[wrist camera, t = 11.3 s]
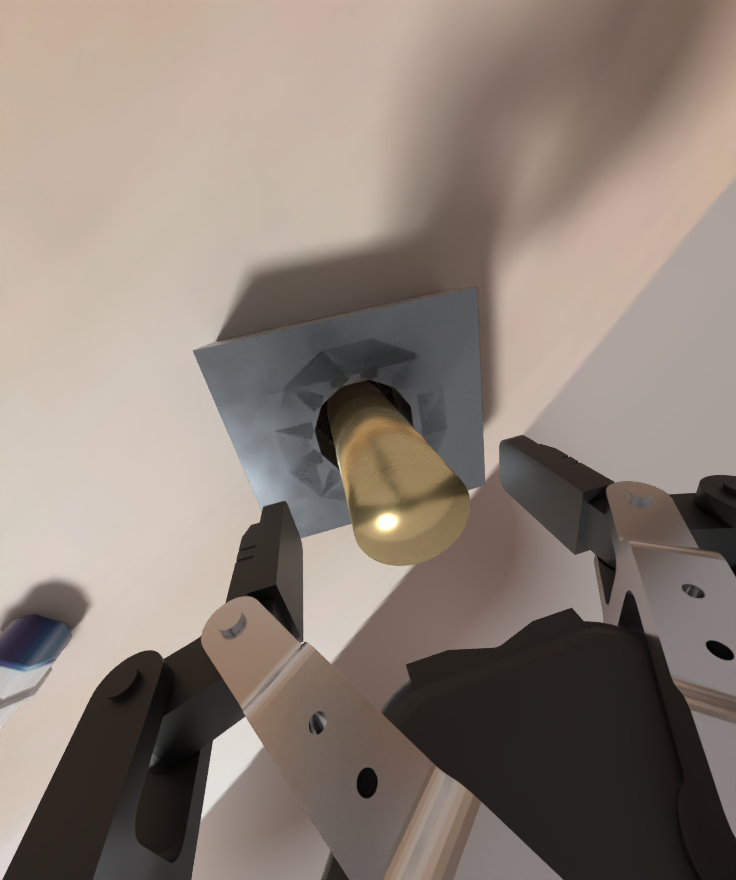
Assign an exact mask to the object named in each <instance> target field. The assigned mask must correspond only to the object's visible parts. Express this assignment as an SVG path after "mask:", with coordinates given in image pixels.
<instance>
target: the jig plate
mask: <svg viewBox="0 0 736 880" xmlns="http://www.w3.org/2000/svg"><path fill="white" fill-rule="evenodd" d="M193 352H194V355H195V357H196V359H197V362H198V364H199V366H200V369H201V371H202V373H203V376H204V378H205V380H206V383H207V385H208V387H209V390H210V392H211V394H212V397H213V399H214V401H215V404H216V406H217V408H218V411H219V413H220V415H221V418H222V420H223V422H224V425H225V427H226V429H227V432H228V434H229V436H230V439H231V441H232V443H233V446H234V448H235V450H236V453H237V455H238V457H239V460H240V462H241V464H242V467H243V469H244V471H245V474H246V476H247V478H248V481H249V483H250V485H251V488H252V490H253V492H254V495H255V497H256V499H257V502H258V504H259V506H260V509H261V511H262V509H263V507H264V506H267V505H271V504H274V503H278V502H281V501H286V502H287V504H288V506H289V509H290V511H291V514H292V517H293V519H294V522H295V524H296V527H297V529H298V532H299V535H300V538H304V537H307V536H310V535H314V534H317V533H321V532H324V531H328V530H331V529H335V528H338V527H342V526H345V525H349V524H352V522H351V517H350V513H349V509H348V504H347V500H346V495H345V491H344V486H343V482H342V477H341V473H340V468H339V464H338V459H337V455H336V451H335V446H334V443H333V442H332V441H331V440H330V439H329V438H327V437H326V436H325V435H324V434H323V433H322V432H321V431H320V430H319V429H318V427H317V419H318V416H319V412H320V409H321V405H322V404H324V403H325V402H326V401H327V400H328V399H329V398H330V397H331V396H332V395H333V394H334V393H335V392H336V391H337V390H338V389H339V388H340V387H342V386H345V385H349V384H353V383H357V382H361V381H365V380H372V381H376V382H379V383H382V384H385V385H389V386H390V387H391V388H392V391H393V397H394V403H395V408H396V409H397V410H398V411H399V412H400V413H401V414H402V415H403V417H404V418H405V419H406V420H407V421H408V422H409V423H410V424H411V425H412V426H413V428H414V429H415V430H416V431H417V432H418V433H419V434H420V435H421V436H422V437H423V439H424V440H425V441H426V442H427V443H428V444H429V445H430V446H431V447H432V448H433V450H434V451H435V452H436V453H437V454H438V455H439V456H440V457H441V458H442V459H443V461H444V462H445V463H446V464H447V465H448V466H449V467H450V468H451V469H452V470H453V471H454V473H455V474H456V475H457V476H458V477H459V478H460V479H461V480H462V482H463V483H464V484H465V486H466V488H467V490H470V489H474V488H477V487H481V486H484V485H485V466H484V441H483V416H482V391H481V367H480V342H479V317H478V292H477V287H473V288H464V289H456V290H447V291H441V292H437V293H432V294H428V295H423V296H419V297H414V298H410V299H405V300H401V301H396V302H392V303H387V304H383V305H378V306H374V307H369V308H365V309H360V310H356V311H352V312H347V313H343V314H338V315H334V316H329V317H325V318H320V319H316V320H311V321H307V322H302V323H298V324H293V325H289V326H284V327H280V328H275V329H271V330H266V331H262V332H257V333H253V334H248V335H244V336H239V337H235V338H230V339H226V340H221V341H217V342H213V343H211V344H208V345H206V346H203V347H201V348H198V349H196V350H193Z"/></svg>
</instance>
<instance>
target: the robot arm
mask: <svg viewBox="0 0 736 880" xmlns="http://www.w3.org/2000/svg"><path fill="white" fill-rule="evenodd" d="M499 464H500V481H501V484H502V486H503V488H504V489H505V491H506V492H507V493H508V494H509V495H511V496H512V497H513V498H514V499H515V500H516V501H517V502H518V503H519V504H520V505H521V506H522V507H523V508H525V509H526V510H527V511H528V512H529V513H530V514H531V515H532V516H533V517H534V518H536V520H538V521H539V522H540V523H541V524H542V525H543V526H544V527H545V528H546V529H547V530H549V531H550V532H551V533H552V534H553V535H554V536H555V537H556V538H557V539H558V540H559V541H561V543H563V544H564V545H565V546H566V547H567V548H568V549H569V550H570V551H571V552H572V553H573V554H575V555H576V554H579V553H582V552H585V551H588V550H591V551H593V552H594V553H595V557H594V566H595V571H596V577H597V583H598V589H599V595H600V600H601V606H602V612H603V623H601V622H588V621H585V622H584V621H583V620H582V619H581V618H580V617H579V615H578V614H577V613H576V612H575V611H574V610H573V609H572V608H570V609H567V610H564V611H561V612H558V613H555V614H552V615H549V616H546V617H544V618H541V619H538V620H535V621H532V622H531V623H530V624H528V625H527V626H526V627H524V628H523V629H522V630H521V631H519V632H518V633H517V634H515V635H514V636H513V637H511V638H510V639H509V640H507V641H506V642H505V643H504V644H502V645H501V646H499V647H496V648H481V649H460V650H447V651H444V652H441V653H439V654H436V655H432V656H430V657H427V658H424V659H421V660H418V661H415V662H412V663H409V664H406V667H407V671H408V675H409V679H410V680H408V681H407V682H406V683H404V684H403V685H402V686H401V687H400V688H399V689H398V690H397V691H395V692H394V693H393V694H392V696H391V697H390V698H389V700H388V701H387V702H386V703H385V705H384V706H383V708H382V710H381V711H379V710H378V709H377V708H376V707H375V706H374V705H373V704H371V702H369V701H368V700H367V699H366V698H365V697H364V696H363V695H362V694H361V693H360V692H359V691H358V690H357V689H356V688H355V687H354V686H353V685H352V684H351V683H350V682H349V681H348V680H347V679H346V678H345V677H344V676H343V675H342V674H341V673H340V672H339V671H338V670H336V669H335V668H334V667H333V666H332V665H331V664H330V663H329V662H328V661H327V660H326V659H325V658H324V657H323V656H322V655H321V654H320V653H319V652H318V651H317V650H316V649H315V648H314V647H313V646H311V645H310V644H309V643H307V642H304V643H303V644H301V642H303V549H302V543H301V538H300V535H299V532H298V529H297V527H296V524H295V522H294V519H293V517H292V514H291V511H290V509H289V506H288V504H287V502H286V501H281V502H278V503H274V504H271V505H267V506H264V507H263V509H262V514H261V520H260V523H257V524H254V525H251V526H250V527H249V529H248V530H247V531H246V533H245V534H244V536H243V537H242V540H241V544H240V548H239V552H238V555H237V559H236V561H237V563H235V567H234V571H233V575H232V579H231V583H230V587H229V591H228V595H227V599H226V603H225V604H224V605H222V606H221V607H220V608H219V609H218V610H216V611H215V612H214V614H213V615H212V616H211V617H210V618H209V620H208V621H207V623H206V625H205V627H204V629H203V632H202V636H201V637H199V638H198V639H196V640H195V641H193V642H192V643H190V644H188V645H187V646H185V647H183V648H181V649H180V650H178V651H176V652H175V653H173V654H171V655H170V656H168V657H166V658H165V659H163V657H162V656H161V655H160V654H159V653H158V652H156V651H152V650H148V651H143V652H139V653H137V654H135V655H133V656H131V657H129V658H127V659H126V660H124V661H123V662H121V663H120V664H119V665H118V666H116V667H115V668H114V669H113V670H112V671H111V672H110V673H109V674H108V675H107V676H106V677H105V678H104V679H103V680H102V682H101V683H100V684H99V685H98V687H97V688H96V690H95V691H94V693H93V695H92V697H91V698H90V700H89V702H88V704H87V707H86V709H85V711H84V713H83V715H82V717H81V719H80V721H79V723H78V725H77V727H76V729H75V731H74V733H73V735H72V737H71V740H70V742H69V744H68V746H67V748H66V750H65V752H64V754H63V756H62V758H61V760H60V762H59V764H58V766H57V768H56V770H55V772H54V775H53V777H52V779H51V781H50V783H49V785H48V787H47V789H46V791H45V793H44V795H43V797H42V799H41V801H40V803H39V805H38V808H37V810H36V812H35V814H34V816H33V818H32V820H31V822H30V824H29V826H28V828H27V830H26V832H25V834H24V836H23V838H22V840H21V843H20V845H19V847H18V849H17V851H16V853H15V855H14V857H13V859H12V861H11V863H10V865H9V867H8V869H7V871H6V873H5V876H4V878H3V880H191V878H192V871H193V865H194V858H195V852H196V845H197V839H198V833H199V826H200V820H201V814H202V807H203V801H204V794H205V788H206V781H207V775H208V769H209V762H210V756H211V749H212V743H213V740H214V739H215V738H217V737H218V736H219V735H221V734H222V733H223V732H225V731H226V730H227V729H229V728H230V727H231V726H233V725H234V724H236V723H237V722H238V721H240V720H241V719H242V718H244V717H245V716H246V718H247V720H248V721H249V723H250V724H251V726H252V728H253V729H254V731H255V732H256V734H257V735H258V737H259V739H260V740H261V742H262V743H263V745H264V746H265V748H266V749H267V751H268V753H269V754H270V756H271V757H272V759H273V761H274V762H275V764H276V765H277V767H278V768H279V770H280V771H281V773H282V775H283V776H284V778H285V779H286V781H287V782H288V784H289V786H290V787H291V789H292V790H293V792H294V794H295V795H296V797H297V798H298V800H299V802H300V803H301V805H302V806H303V808H304V809H305V811H306V813H307V814H308V816H309V817H310V819H311V820H312V822H313V824H314V825H315V827H316V828H317V830H318V831H319V833H320V835H321V836H322V838H323V839H324V841H325V842H326V844H327V846H328V847H329V849H330V850H331V851H330V854H329V857H328V860H327V863H326V866H325V869H324V872H323V875H322V878H321V880H736V476H728V475H714V476H708V477H705V478H703V479H701V481H700V483H699V486H698V489H697V493H687V494H670V495H669V494H667V493H666V492H664V491H663V490H661V489H659V488H657V487H655V486H652V485H649V484H645V483H640V482H633V481H622V482H616V483H615V482H614V481H612V480H610V479H608V478H607V477H605V476H603V475H601V474H599V473H598V472H596V471H594V470H593V469H591V468H589V467H587V466H585V465H584V464H582V463H578V461H577V460H575V459H573V458H572V457H568V455H566V454H564V453H563V452H561V451H559V450H557V449H556V448H552V447H549V446H546V445H542V444H537V443H536V442H534V441H533V440H531V439H529V438H527V437H526V436H524V435H520V436H516V437H513V438H509V439H506V440H502V441H501V442H500V445H499Z"/></svg>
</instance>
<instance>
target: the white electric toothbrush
mask: <svg viewBox="0 0 736 880" xmlns="http://www.w3.org/2000/svg"><path fill="white" fill-rule="evenodd" d="M71 638H72V635H71V633H70V631H69V628H68V626H67V624H65V623H61V622H58V621H55V620H51V619H48V618H45V617H41V616H38V615H32V616H28V617H24V618H20V619H15V620H13V621H12V622H11V623H10V624H9V625H8V626H7V627H6V628H5V629H4V631H3V632H2V633H1V634H0V728H1V726H2V725H3V724H4V723H5V722H6V720H7V719H8V718H9V717H10V716H11V715H12V713H13V712H14V711H15V710H16V709H17V707H18V706H19V705H20V704H21V703H22V702H24V701H26V700H29V699H31V698H33V696H34V695H35V694H36V692H37V691H38V690H39V688H40V687H41V685H42V684H43V682H44V681H45V679H46V678H47V676H48V675H49V673H50V672H51V671H52V667H51V665H52V664H53V663H54V661H55V660H56V659H57V658H58V656H59V655H60V653H61V652H62V651H63V649H64V648H65V646H66V645H67V643H68V642H69V641H70V639H71Z"/></svg>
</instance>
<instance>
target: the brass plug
mask: <svg viewBox="0 0 736 880" xmlns="http://www.w3.org/2000/svg"><path fill="white" fill-rule="evenodd" d="M327 415H328V419H329V424H330V428H331V433H332V437H333V442H334V446H335V451H336V455H337V459H338V464H339V468H340V473H341V477H342V482H343V486H344V491H345V495H346V500H347V504H348V509H349V513H350V517H351V522H352V526H353V531H354V535H355V538H356V541H357V543H358V545H359V546H360V548H361V549H362V550H363V552H364V553H366V554H367V555H368V556H369V557H371V558H372V559H374V560H376V561H378V562H381V563H384V564H388V565H395V566H405V565H413V564H417V563H421V562H424V561H426V560H429V559H431V558H433V557H435V556H437V555H439V554H440V553H442V552H443V551H444V550H446V549H447V548H448V547H449V546H451V545H452V544H453V543H454V541H455V540H456V539H457V538H458V537H459V535H460V534H461V533H462V531H463V529H464V528H465V525H466V523H467V521H468V517H469V513H470V497H469V493H468V490H467V488H466V486H465V484H464V483H463V482H462V480H461V479H460V478H459V477H458V476H457V475H456V474H455V473H454V471H453V470H452V469H451V468H450V467H449V466H448V465H447V464H446V463H445V462H444V461H443V459H442V458H441V457H440V456H439V455H438V454H437V453H436V452H435V451H434V450H433V448H432V447H431V446H430V445H429V444H428V443H427V442H426V441H425V440H424V439H423V437H422V436H421V435H420V434H419V433H418V432H417V431H416V430H415V429H414V428H413V426H412V425H411V424H410V423H409V422H408V421H407V420H406V419H405V418H404V417H403V415H402V414H401V413H400V412H399V411H398V410H397V409H396V408H395V407H394V406H393V404H392V403H391V402H390V401H389V400H388V399H387V398H386V397H385V396H384V395H383V393H382V392H381V391H380V390H379V389H378V388H377V387H376V386H375V385H373V384H371V383H370V382H367V381H361V382H357V383H353V384H349V385H345V386H342V387H340V388H339V389H338V390H337V391H336V392H335V393H334V394H333V395H332V396H331V397H330V398H329V400H328V404H327Z"/></svg>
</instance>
